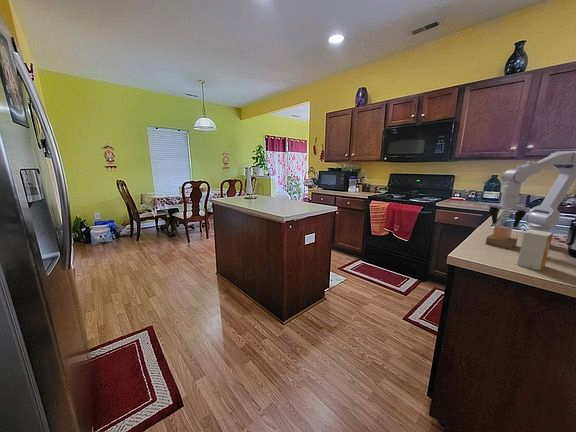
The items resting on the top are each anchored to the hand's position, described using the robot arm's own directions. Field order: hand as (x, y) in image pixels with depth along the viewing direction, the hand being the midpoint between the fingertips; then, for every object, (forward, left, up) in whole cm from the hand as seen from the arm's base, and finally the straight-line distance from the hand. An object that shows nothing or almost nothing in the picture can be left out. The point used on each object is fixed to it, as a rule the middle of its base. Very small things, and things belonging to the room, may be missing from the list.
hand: (504, 225), depth 111 cm
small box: (+20, +16, -10) cm, 27 cm away
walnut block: (0, 0, -10) cm, 10 cm away
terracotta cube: (0, 0, -6) cm, 6 cm away
